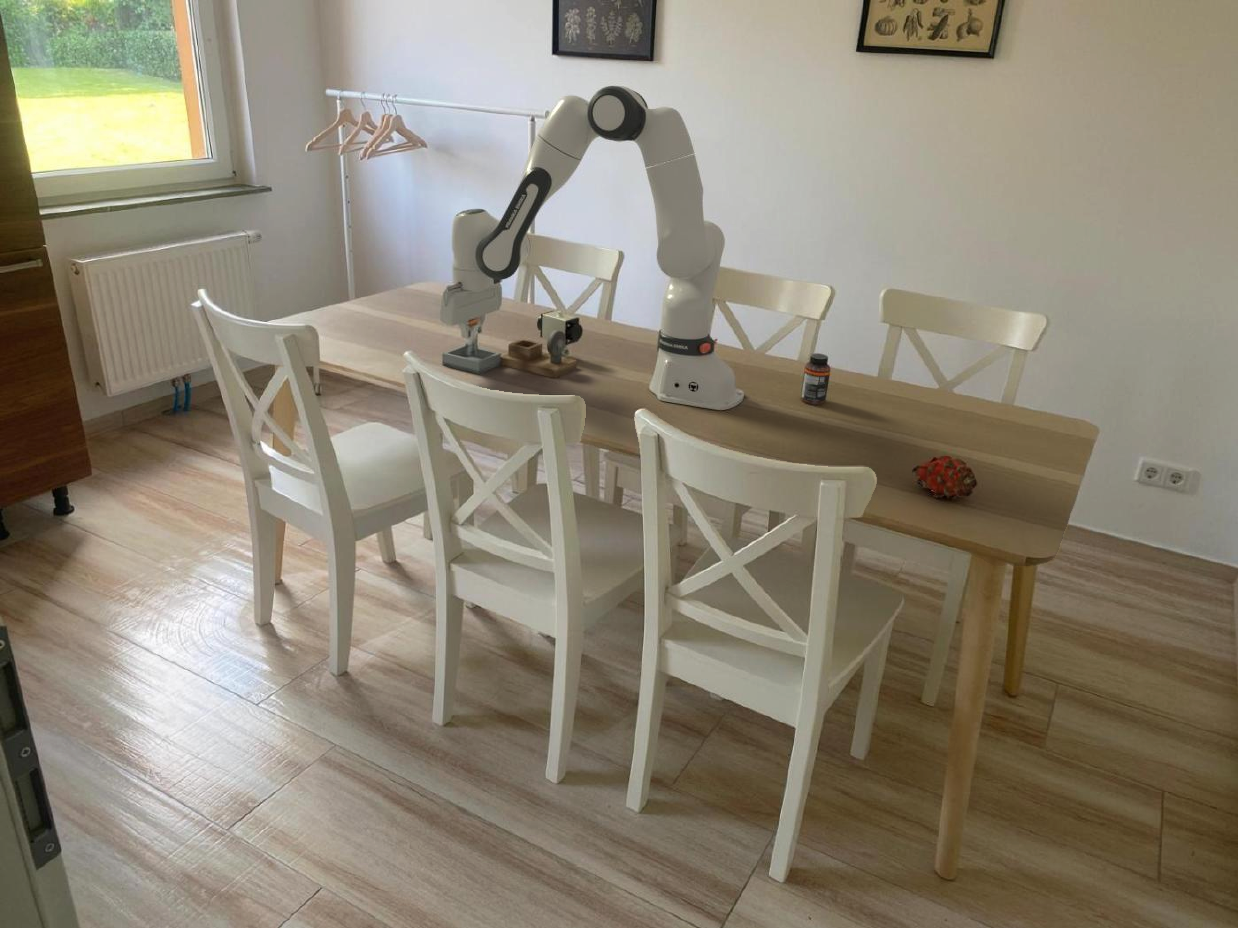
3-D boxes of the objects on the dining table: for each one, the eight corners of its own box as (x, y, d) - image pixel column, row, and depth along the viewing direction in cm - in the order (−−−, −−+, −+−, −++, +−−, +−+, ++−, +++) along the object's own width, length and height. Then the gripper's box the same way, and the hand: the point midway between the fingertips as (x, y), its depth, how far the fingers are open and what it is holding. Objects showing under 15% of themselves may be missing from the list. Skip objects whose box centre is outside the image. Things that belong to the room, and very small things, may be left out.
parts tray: (500, 364, 225) (500, 353, 224) (478, 374, 217) (478, 362, 216) (465, 356, 229) (464, 344, 228) (442, 365, 222) (442, 353, 221)
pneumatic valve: (570, 364, 228) (572, 318, 223) (535, 353, 235) (536, 308, 230) (584, 359, 233) (586, 314, 228) (549, 349, 239) (551, 304, 234)
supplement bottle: (809, 395, 218) (816, 350, 213) (830, 402, 214) (837, 356, 210) (794, 400, 214) (801, 354, 209) (815, 407, 210) (823, 361, 206)
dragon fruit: (974, 514, 168) (909, 503, 174) (986, 477, 171) (922, 468, 178) (969, 489, 161) (902, 478, 168) (981, 451, 165) (916, 442, 172)
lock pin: (480, 353, 223) (480, 317, 219) (472, 356, 220) (472, 320, 216) (470, 350, 224) (469, 315, 220) (462, 353, 222) (461, 318, 218)
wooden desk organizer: (576, 367, 226) (577, 329, 222) (555, 378, 218) (556, 338, 214) (523, 355, 233) (523, 317, 229) (500, 364, 225) (500, 325, 221)
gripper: (454, 289, 205) (455, 347, 210) (506, 274, 221) (506, 328, 227) (432, 284, 207) (434, 342, 213) (485, 270, 224) (485, 324, 230)
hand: (471, 335), depth 220 cm, fingers closed on lock pin, 3 cm apart
